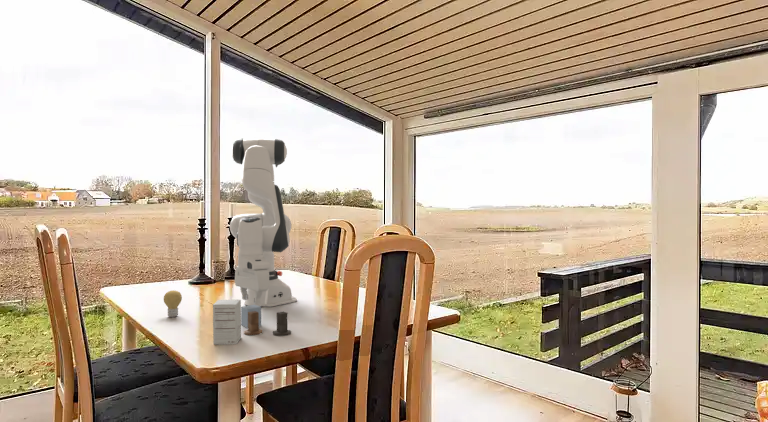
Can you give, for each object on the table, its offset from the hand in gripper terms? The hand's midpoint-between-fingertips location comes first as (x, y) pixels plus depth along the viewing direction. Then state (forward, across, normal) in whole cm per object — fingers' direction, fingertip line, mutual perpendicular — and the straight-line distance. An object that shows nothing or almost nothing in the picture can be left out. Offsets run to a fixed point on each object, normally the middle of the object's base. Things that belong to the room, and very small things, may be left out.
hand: (251, 301), depth 175 cm
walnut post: (+9, +9, -4) cm, 13 cm away
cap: (+9, -1, 0) cm, 9 cm away
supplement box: (+9, +13, -14) cm, 21 cm away
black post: (+9, +16, +3) cm, 19 cm away
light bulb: (+8, -33, -17) cm, 38 cm away
